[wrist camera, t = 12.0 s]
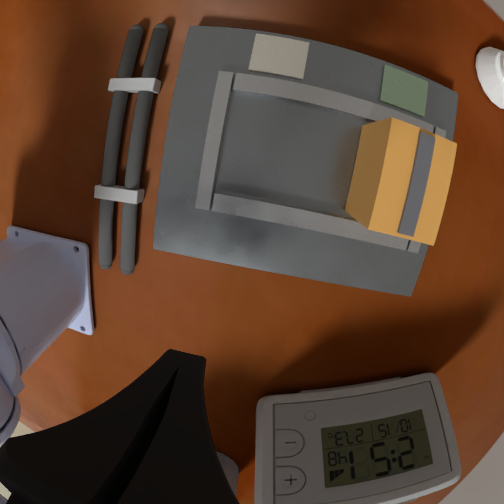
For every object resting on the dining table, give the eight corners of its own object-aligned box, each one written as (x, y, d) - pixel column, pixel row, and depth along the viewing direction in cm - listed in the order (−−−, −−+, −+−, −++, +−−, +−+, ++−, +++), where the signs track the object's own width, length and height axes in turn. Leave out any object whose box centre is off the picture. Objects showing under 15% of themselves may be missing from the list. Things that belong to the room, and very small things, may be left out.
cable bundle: (100, 264, 20) (93, 269, 19) (132, 28, 14) (125, 23, 13) (139, 273, 20) (132, 279, 19) (175, 26, 14) (170, 20, 13)
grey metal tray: (159, 243, 19) (149, 252, 17) (194, 32, 14) (187, 21, 13) (404, 288, 19) (414, 300, 17) (448, 95, 14) (463, 92, 13)
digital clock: (442, 364, 21) (493, 449, 11) (405, 428, 24) (432, 507, 14) (262, 361, 22) (255, 483, 12) (251, 430, 24) (242, 527, 14)
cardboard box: (344, 210, 16) (369, 230, 12) (362, 125, 15) (393, 116, 10) (398, 223, 16) (435, 247, 12) (416, 143, 15) (459, 143, 10)
